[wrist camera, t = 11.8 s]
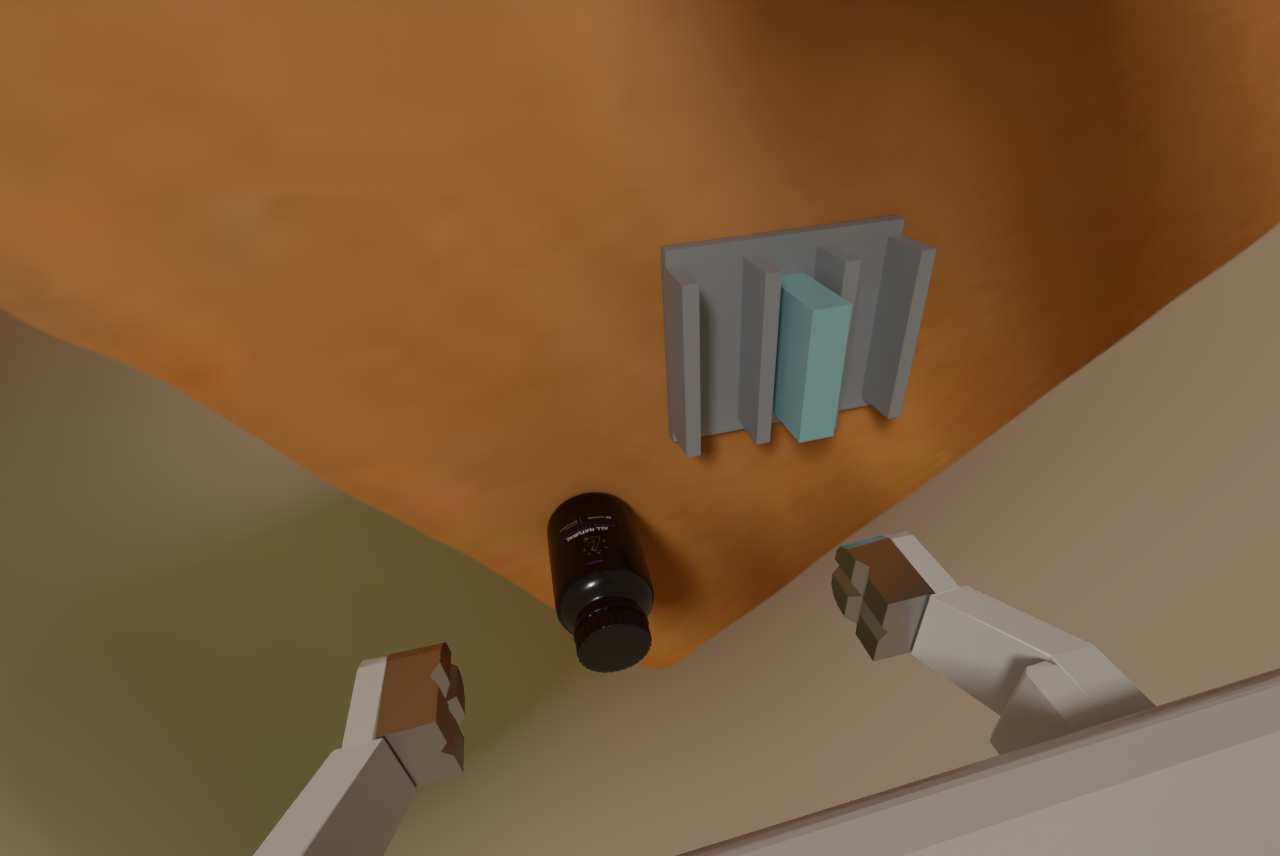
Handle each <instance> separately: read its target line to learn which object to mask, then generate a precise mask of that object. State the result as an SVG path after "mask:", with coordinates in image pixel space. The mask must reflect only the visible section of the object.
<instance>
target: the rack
mask: <svg viewBox="0 0 1280 856" xmlns="http://www.w3.org/2000/svg"><path fill="white" fill-rule="evenodd" d="M904 221H905V218H902V217H899V216H897V215H893V216H886V217H879V218H871V219H864V220H856V221H849V222H841V223H834V224H826V225H819V226H811V227H804V228H797V229H789V230H782V231H774V232H767V233H759V234H752V235H744V236H737V237H729V238H722V239H714V240H707V241H700V242H692V243H685V244H677V245H670V246H662V247H661V262H662V284H663V306H664V327H665V349H666V371H667V392H668V414H669V435H670V437H671V439H672V441H673V442H676V441H678V442H679V444H680V446H681V448H682V450H683V452H684V454H685V456H686V458H690V457H695V456H700V455H701V437H703V436H708V435H714V434H719V433H724V432H729V431H735V430H740V429H746V431H747V432H748V434H749V435H750V436H751V438H752V439H753V441H754V442H755V443H756V445H757V444H762V443H767V442H770V435H771V424H772V423H777V422H781V421H780V419H779V418H778V417H777V416H776V415H775V413H774V412H773V411H772V407H773V393H774V379H775V365H776V351H777V337H778V323H779V309H780V295H781V281H782V276H783V275H790V274H797V273H805V274H806V275H808V276H810V277H811V278H813V279H814V280H816V281H817V282H819V283H820V284H822V285H823V286H825V287H827V288H828V289H830V290H831V291H833V292H834V293H836V294H837V295H839V296H840V297H842V298H843V299H845V300H847V301H848V302H850V303H851V304H852V311H851V318H850V325H849V331H848V338H847V345H846V352H845V359H844V366H843V373H842V380H841V387H840V394H839V401H838V407H837V414H836V421H835V428H834V429H837V422H838V415H839V411H841V410H846V409H851V408H856V407H862V406H867V405H872V406H874V407H875V408H876V409H877V410H878V411H879V412H880V413H881V414H883V415H884V416H885V417H886V418H887V419H891V418H896V417H901V412H902V407H903V403H904V398H905V394H906V389H907V384H908V380H909V375H910V371H911V366H912V361H913V357H914V352H915V348H916V343H917V338H918V334H919V329H920V325H921V320H922V315H923V311H924V306H925V302H926V297H927V292H928V288H929V283H930V279H931V274H932V270H933V265H934V260H935V256H936V251H937V248H934V247H932V246H930V245H927V244H925V243H922V242H920V241H917V240H915V239H912V238H910V237H907V236H905V235H902V232H903V226H904Z"/></svg>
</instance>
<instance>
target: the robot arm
mask: <svg viewBox="0 0 1280 856" xmlns="http://www.w3.org/2000/svg"><path fill="white" fill-rule="evenodd" d="M835 559H836V561H837V562H838V564H839V567H838V568H837V569H836V570H835V571H834V573H833V574H832V583H831V585H832V590H833V595H834V598H835V600H836V602H837V605H838V607H839V608H840V610H841V612H842V613H843V615H844V616H845V617H846V618H848V619H850V620H852V621H853V622H855V623H857V627H856V635H857V637H858V639H859V640H860V641H861V643H862V645H863V646H864V648H865V649H866V651H867V652H868V654H869V656H870V657H871V659H872V660H873V661H876V660H880V659H884V658H888V657H893V656H897V655H901V654H905V653H909V652H912V653H911V654H912V655H913V656H915V657H916V658H917V659H919V660H920V661H922V662H923V663H925V664H926V665H928V666H929V667H930V668H932V669H933V670H935V671H936V672H938V673H939V674H941V675H942V676H944V677H945V678H946V679H948V680H949V681H951V682H952V683H954V684H955V685H957V686H958V687H959V688H961V689H962V690H964V691H965V692H967V693H968V694H970V695H971V696H973V697H974V698H975V699H977V700H978V701H980V702H981V703H983V704H984V705H986V706H987V707H989V708H990V709H991V710H993V711H994V712H996V713H998V714H999V715H1000V716H1001V717H1000V719H999V720H998V722H997V724H996V726H995V728H994V730H993V732H992V734H991V739H990V742H991V744H992V745H993V747H994V748H995V749H996V751H997V752H998V753H999V756H995V757H992V758H989V759H986V760H983V761H979V762H976V763H973V764H970V765H966V766H964V767H960V768H957V769H954V770H950V771H947V772H944V773H941V774H938V775H934V776H931V777H928V778H925V779H921V780H918V781H915V782H912V783H908V784H905V785H902V786H899V787H896V788H892V789H889V790H886V791H883V792H880V793H876V794H873V795H870V796H867V797H863V798H860V799H857V800H854V801H850V802H848V803H844V804H841V805H838V806H835V807H831V808H828V809H825V810H822V811H818V812H815V813H812V814H809V815H806V816H802V817H799V818H796V819H793V820H789V821H786V822H783V823H780V824H776V825H773V826H770V827H767V828H763V829H760V830H757V831H754V832H751V833H747V834H744V835H741V836H738V837H734V838H731V839H728V840H725V841H722V842H719V843H716V844H712V845H709V846H706V847H702V848H699V849H696V850H693V851H689V852H686V853H683V854H680V855H677V856H1280V668H1279V669H1276V670H1273V671H1269V672H1267V673H1263V674H1260V675H1257V676H1253V677H1250V678H1247V679H1244V680H1240V681H1237V682H1234V683H1231V684H1228V685H1224V686H1221V687H1218V688H1215V689H1212V690H1208V691H1205V692H1202V693H1199V694H1195V695H1193V696H1189V697H1186V698H1182V699H1179V700H1177V701H1173V702H1170V703H1166V704H1163V705H1160V706H1157V707H1156V706H1155V705H1154V704H1153V703H1152V702H1151V701H1150V700H1149V699H1148V698H1147V697H1146V696H1145V695H1144V694H1143V693H1142V692H1141V691H1140V690H1139V689H1138V688H1137V687H1136V686H1135V685H1134V684H1133V683H1132V682H1131V681H1130V680H1129V679H1128V678H1127V677H1126V676H1125V675H1124V674H1123V673H1122V672H1121V671H1120V670H1119V669H1118V668H1116V667H1115V666H1114V665H1113V664H1112V663H1111V662H1110V661H1109V660H1108V659H1107V658H1106V657H1105V656H1104V655H1103V654H1102V653H1101V652H1100V651H1099V650H1098V649H1097V648H1096V647H1095V646H1094V645H1092V644H1090V643H1087V642H1085V641H1083V640H1081V639H1079V638H1077V637H1075V636H1072V635H1070V634H1068V633H1066V632H1064V631H1062V630H1060V629H1058V628H1056V627H1053V626H1051V625H1049V624H1047V623H1045V622H1043V621H1041V620H1038V619H1036V618H1034V617H1032V616H1030V615H1028V614H1026V613H1024V612H1021V611H1019V610H1017V609H1015V608H1013V607H1011V606H1009V605H1007V604H1004V603H1002V602H1000V601H998V600H996V599H993V598H992V597H989V596H987V595H985V594H983V593H981V592H979V591H977V590H975V589H972V588H970V587H968V586H963V587H959V585H958V584H957V583H956V582H955V581H954V580H953V579H952V578H951V577H950V575H949V574H948V573H947V572H946V571H945V570H944V569H943V568H942V567H941V566H940V564H939V563H938V562H937V561H936V560H935V559H934V558H933V557H932V555H931V554H930V553H929V552H928V551H927V550H926V549H925V548H924V547H923V546H922V544H921V543H920V542H919V541H918V540H917V539H916V538H915V537H914V536H913V534H912V533H910V532H908V531H901V532H897V533H893V534H889V535H885V536H878V537H874V538H870V539H866V540H863V541H859V542H855V543H851V544H847V545H843V546H840V547H839V548H838V549H837V551H836V557H835ZM464 716H465V695H464V685H463V681H462V677H461V674H460V671H459V669H458V666H456V665H453V664H451V651H450V649H449V647H448V645H447V643H446V642H445V643H440V644H436V645H431V646H426V647H422V648H417V649H413V650H407V651H403V652H398V653H394V654H389V655H384V656H380V657H376V658H372V659H367V660H363V661H362V662H361V665H360V666H359V668H358V670H357V675H356V679H355V684H354V689H353V695H352V699H351V704H350V709H349V714H348V719H347V724H346V729H345V734H344V739H343V744H342V748H340V749H336V750H333V751H332V753H331V754H330V755H329V757H328V758H327V759H326V761H325V762H324V763H323V764H322V766H321V767H320V768H319V770H318V771H317V772H316V774H315V775H314V776H313V778H312V779H311V780H310V782H309V783H308V784H307V785H306V787H305V788H304V789H303V791H302V792H301V793H300V795H299V796H298V797H297V799H296V800H295V801H294V803H293V804H292V805H291V807H290V808H289V809H288V811H287V812H286V813H285V814H284V816H283V817H282V818H281V820H280V821H279V822H278V824H277V825H276V826H275V828H274V829H273V830H272V832H271V833H270V834H269V835H268V837H267V838H266V839H265V841H264V842H263V843H262V845H261V846H260V847H259V849H258V850H257V851H256V853H255V854H254V855H253V856H383V855H384V853H385V851H386V849H387V847H388V846H389V844H390V842H391V840H392V838H393V836H394V834H395V832H396V830H397V828H398V827H399V825H400V823H401V821H402V819H403V817H404V815H405V813H406V811H407V809H408V808H409V806H410V804H411V802H412V800H413V798H414V796H415V794H416V792H417V789H416V788H417V787H421V786H424V785H427V784H431V783H434V782H437V781H440V780H443V779H447V778H450V777H454V776H457V775H460V774H463V770H464V768H463V767H464V736H463V734H462V732H461V730H460V728H459V723H460V722H461V720H462V719H463V717H464Z"/></svg>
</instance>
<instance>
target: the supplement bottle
mask: <svg viewBox="0 0 1280 856" xmlns="http://www.w3.org/2000/svg"><path fill="white" fill-rule="evenodd" d="M547 537H548V547H549V556H550V565H551V574H552V583H553V592H554V601H555V609H556V614H557V617H558V620H559V622H560V623H561V625H562V626H563V627H564V628H565V629H566V630H567V631H568V632H569V633H570V634H572V635H573V636H574V641H575V644H576V651H577V656H578V658H579V661H580V662H581V663H582V665H583V666H585V667H586V668H587V669H590V670H592V671H596V672H603V673H606V672H615V671H620V670H623V669H627V668H628V667H632V666H633V665H634V664H637V663H638V662H639V661H640V660H642V659H643V658H644V656H646V655H647V652H648V651H649V650H650V646H651V641H652V638H651V634H650V630H649V622H648V618H647V617H648V615H649V613H650V611H651V608H652V606H653V601H654V590H653V585H652V582H651V579H650V575H649V572H648V569H647V565H646V562H645V559H644V555H643V552H642V549H641V545H640V542H639V539H638V535H637V532H636V529H635V526H634V522H633V519H632V516H631V514H630V511H629V509H628V508H627V507H626V505H625V504H624V503H623V502H622V501H620V500H619V499H617V498H616V497H614V496H611V495H609V494H605V493H597V492H592V493H584V494H580V495H577V496H574V497H572V498H570V499H568V500H566V501H565V502H563V503H562V504H561V505H560V506H559V507H558V508H557V509H556V510H555V511H554V512H553V514H552V516H551V518H550V520H549V523H548V527H547Z"/></svg>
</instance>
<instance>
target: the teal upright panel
mask: <svg viewBox="0 0 1280 856" xmlns="http://www.w3.org/2000/svg"><path fill="white" fill-rule="evenodd" d="M851 311H852V304H851V303H850V302H848V301H847V300H845V299H843V298H842V297H840V296H839V295H837V294H836V293H834V292H833V291H831V290H830V289H828V288H827V287H825V286H823V285H822V284H820V283H819V282H817V281H816V280H814V279H813V278H811V277H810V276H808V275H806V274H805V273H797V274H790V275H783V276H782V281H781V295H780V309H779V323H778V337H777V351H776V365H775V379H774V393H773V407H772V411H773V412H774V413H775V415H776V416H777V417H778V418H779V419H780V421H781V422H782V423H783V424H784V425H785V427H786V428H787V429H788V430H789V431H790V433H791V434H792V435H793V436H794V437H795V439H796V440H797V441H798V442H799V443H801V442H806V441H811V440H816V439H821V438H826V437H831V436H833V435H834V428H835V421H836V414H837V407H838V401H839V394H840V387H841V380H842V373H843V366H844V359H845V352H846V345H847V338H848V331H849V325H850V318H851Z"/></svg>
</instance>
